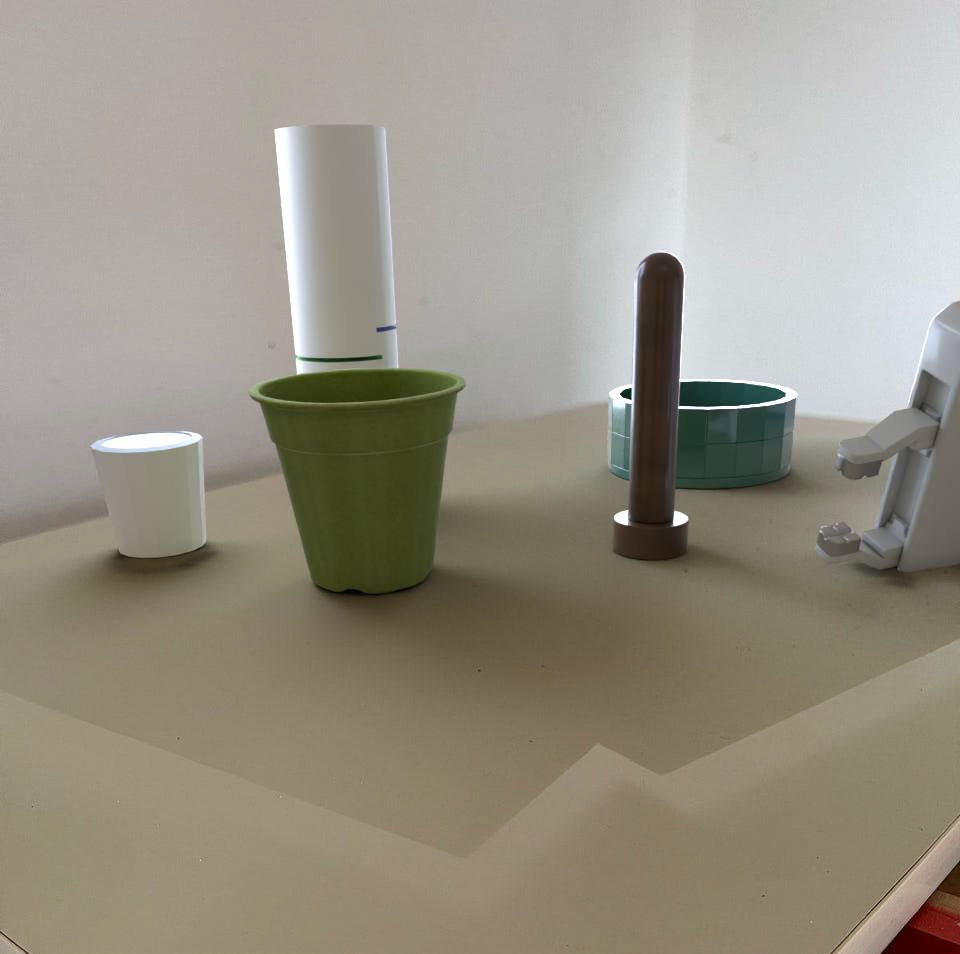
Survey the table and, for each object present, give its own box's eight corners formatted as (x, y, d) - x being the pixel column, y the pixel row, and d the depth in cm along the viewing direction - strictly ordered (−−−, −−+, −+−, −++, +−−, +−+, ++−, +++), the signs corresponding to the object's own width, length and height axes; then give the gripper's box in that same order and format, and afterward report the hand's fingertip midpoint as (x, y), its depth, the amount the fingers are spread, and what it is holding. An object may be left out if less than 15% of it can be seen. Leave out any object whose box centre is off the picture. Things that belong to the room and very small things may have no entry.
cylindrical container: (425, 499, 77) (407, 128, 68) (366, 522, 72) (337, 122, 62) (350, 488, 81) (324, 135, 71) (289, 510, 75) (251, 130, 66)
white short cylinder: (158, 566, 64) (141, 454, 61) (85, 551, 67) (66, 444, 64) (237, 538, 69) (224, 433, 66) (166, 525, 72) (151, 425, 70)
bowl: (690, 441, 94) (694, 374, 92) (827, 467, 83) (835, 392, 81) (571, 466, 86) (572, 393, 84) (705, 499, 75) (710, 416, 73)
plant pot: (227, 590, 59) (201, 391, 55) (359, 537, 68) (346, 363, 64) (388, 627, 53) (374, 407, 49) (510, 564, 62) (507, 373, 58)
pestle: (648, 533, 67) (659, 249, 61) (702, 549, 64) (719, 250, 57) (597, 547, 65) (602, 253, 58) (650, 564, 61) (662, 253, 55)
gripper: (1155, 305, 51) (917, 347, 47) (1021, 627, 64) (828, 678, 60) (1060, 262, 55) (838, 298, 52) (954, 571, 68) (771, 615, 65)
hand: (832, 505), depth 56 cm, fingers open, 4 cm apart
